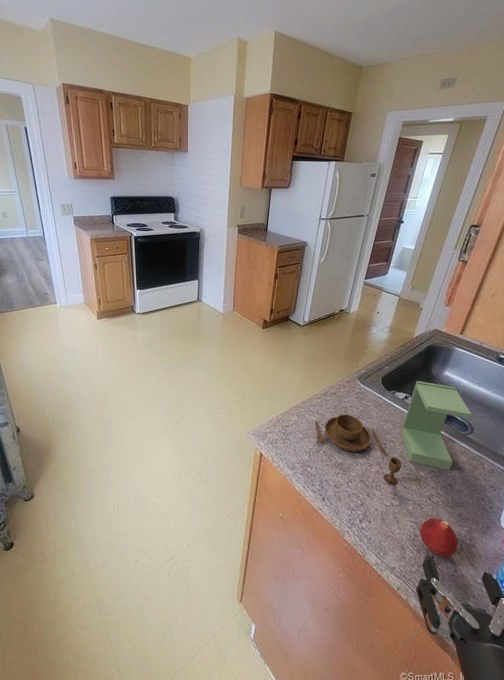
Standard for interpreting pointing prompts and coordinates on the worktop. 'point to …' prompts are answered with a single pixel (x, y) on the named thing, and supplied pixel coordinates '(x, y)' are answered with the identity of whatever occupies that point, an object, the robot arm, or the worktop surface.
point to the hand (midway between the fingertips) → (456, 566)
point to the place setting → (355, 439)
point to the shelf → (430, 423)
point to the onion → (439, 537)
